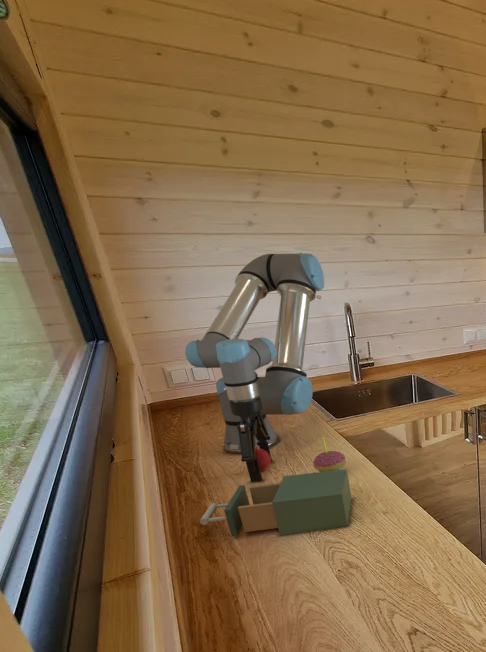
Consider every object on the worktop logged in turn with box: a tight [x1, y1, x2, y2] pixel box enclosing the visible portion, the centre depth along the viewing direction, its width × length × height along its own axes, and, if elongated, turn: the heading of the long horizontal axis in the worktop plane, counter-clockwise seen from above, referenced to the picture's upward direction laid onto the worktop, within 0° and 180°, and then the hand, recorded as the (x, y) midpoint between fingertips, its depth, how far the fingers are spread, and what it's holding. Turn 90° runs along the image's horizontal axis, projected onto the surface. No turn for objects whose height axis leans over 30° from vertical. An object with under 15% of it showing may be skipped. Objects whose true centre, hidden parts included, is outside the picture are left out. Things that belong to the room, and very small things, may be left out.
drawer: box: [199, 482, 281, 538], centre depth 112 cm, size 20×11×7 cm, turn 103°
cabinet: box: [272, 469, 353, 536], centre depth 115 cm, size 15×13×9 cm
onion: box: [255, 445, 272, 473], centre depth 138 cm, size 6×6×8 cm
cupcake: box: [313, 435, 347, 472], centre depth 133 cm, size 9×8×12 cm
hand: (262, 471), depth 139 cm, fingers open, 11 cm apart
